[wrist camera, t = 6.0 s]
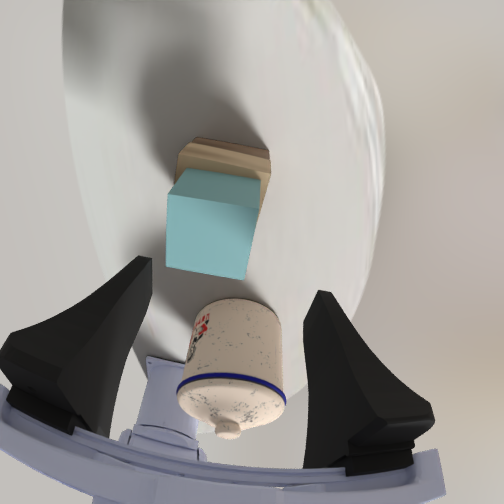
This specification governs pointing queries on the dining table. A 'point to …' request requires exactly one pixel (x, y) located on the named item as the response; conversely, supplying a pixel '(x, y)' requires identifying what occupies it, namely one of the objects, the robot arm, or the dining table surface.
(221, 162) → the oak slab upper
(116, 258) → the dining table surface
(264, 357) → the ceramic jar
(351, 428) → the robot arm
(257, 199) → the teal block
